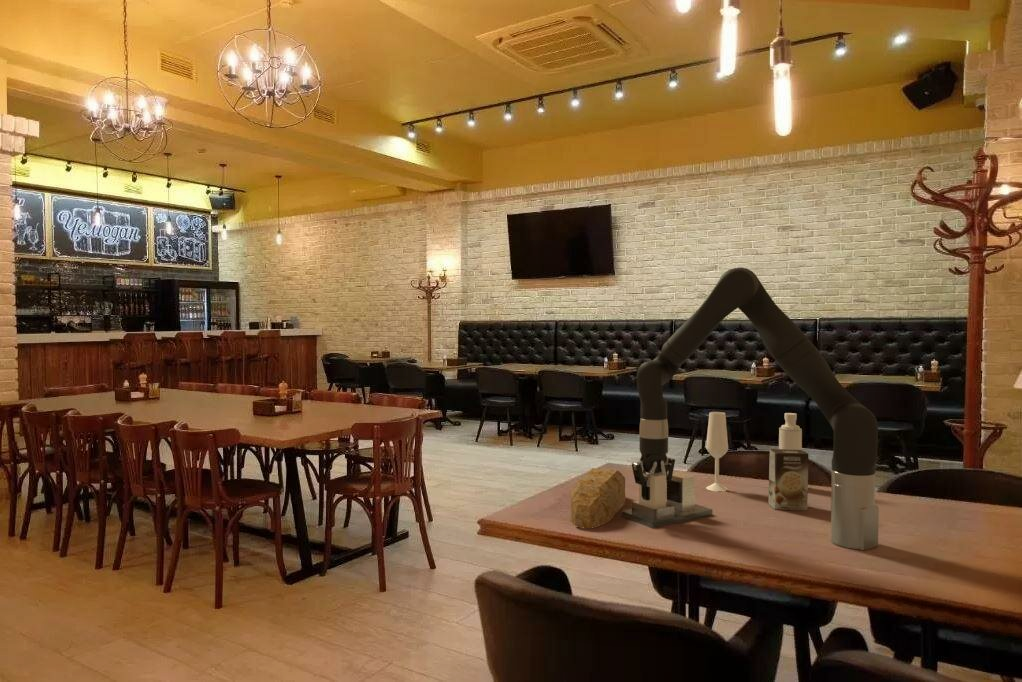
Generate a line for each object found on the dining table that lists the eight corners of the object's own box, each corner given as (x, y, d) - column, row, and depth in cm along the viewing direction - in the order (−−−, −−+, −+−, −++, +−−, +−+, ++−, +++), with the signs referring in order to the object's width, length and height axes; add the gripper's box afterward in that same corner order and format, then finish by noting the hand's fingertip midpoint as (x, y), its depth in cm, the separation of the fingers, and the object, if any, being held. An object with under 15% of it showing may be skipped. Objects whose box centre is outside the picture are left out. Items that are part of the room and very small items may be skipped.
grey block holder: (712, 514, 185) (712, 476, 185) (652, 527, 173) (652, 487, 173) (680, 504, 195) (680, 468, 195) (621, 516, 184) (621, 478, 183)
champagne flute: (701, 487, 215) (701, 412, 214) (719, 485, 217) (720, 411, 216) (713, 492, 209) (714, 414, 208) (732, 490, 211) (733, 413, 210)
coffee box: (774, 509, 189) (774, 452, 189) (768, 503, 196) (768, 448, 195) (808, 510, 189) (809, 453, 188) (800, 504, 195) (801, 449, 194)
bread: (595, 493, 209) (595, 461, 209) (630, 496, 205) (630, 463, 205) (561, 526, 176) (561, 488, 175) (602, 531, 172) (602, 492, 171)
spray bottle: (806, 488, 213) (806, 409, 212) (787, 490, 211) (788, 410, 210) (791, 483, 219) (792, 407, 218) (774, 485, 217) (774, 407, 216)
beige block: (654, 510, 178) (654, 476, 178) (639, 505, 183) (639, 472, 183) (667, 508, 180) (667, 474, 180) (651, 503, 185) (652, 470, 185)
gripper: (643, 439, 174) (643, 505, 175) (683, 434, 181) (683, 497, 182) (624, 435, 180) (623, 499, 181) (663, 430, 188) (663, 491, 188)
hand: (653, 498), depth 181 cm, fingers closed on beige block, 4 cm apart
